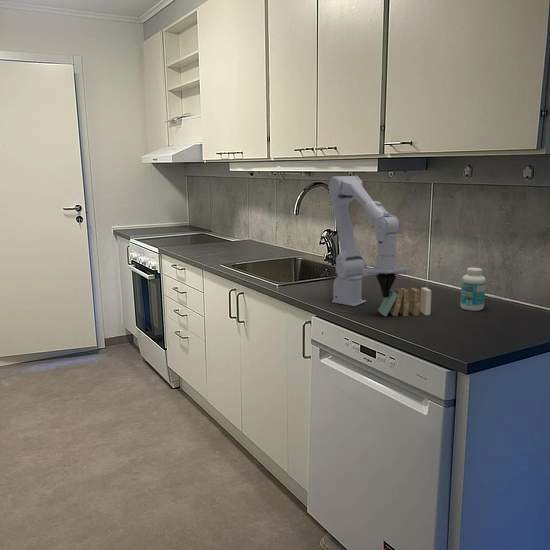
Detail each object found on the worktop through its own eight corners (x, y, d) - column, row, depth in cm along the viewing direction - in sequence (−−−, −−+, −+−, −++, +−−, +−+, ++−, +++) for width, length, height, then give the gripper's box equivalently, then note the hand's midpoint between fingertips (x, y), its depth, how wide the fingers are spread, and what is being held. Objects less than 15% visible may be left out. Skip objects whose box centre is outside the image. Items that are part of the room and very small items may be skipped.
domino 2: (392, 315, 169) (399, 291, 168) (388, 311, 174) (394, 288, 172) (397, 316, 169) (403, 292, 168) (392, 312, 174) (399, 289, 173)
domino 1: (381, 314, 169) (393, 292, 168) (377, 310, 173) (389, 289, 172) (386, 316, 169) (398, 294, 168) (382, 312, 174) (393, 291, 172)
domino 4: (414, 315, 170) (415, 291, 168) (409, 311, 174) (410, 288, 173) (419, 315, 170) (420, 291, 168) (414, 311, 175) (415, 287, 173)
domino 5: (425, 315, 170) (426, 290, 169) (420, 311, 175) (421, 287, 173) (430, 315, 170) (431, 290, 169) (424, 311, 175) (426, 287, 173)
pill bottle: (455, 306, 180) (457, 267, 177) (472, 304, 182) (475, 266, 179) (470, 312, 173) (473, 271, 170) (488, 310, 175) (491, 269, 173)
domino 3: (403, 315, 170) (404, 291, 168) (398, 312, 174) (399, 288, 172) (408, 315, 170) (409, 291, 168) (403, 311, 174) (404, 288, 173)
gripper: (367, 257, 163) (366, 300, 166) (413, 256, 164) (411, 299, 167) (361, 253, 170) (360, 295, 173) (405, 252, 171) (404, 293, 174)
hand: (385, 296), depth 170 cm, fingers closed
